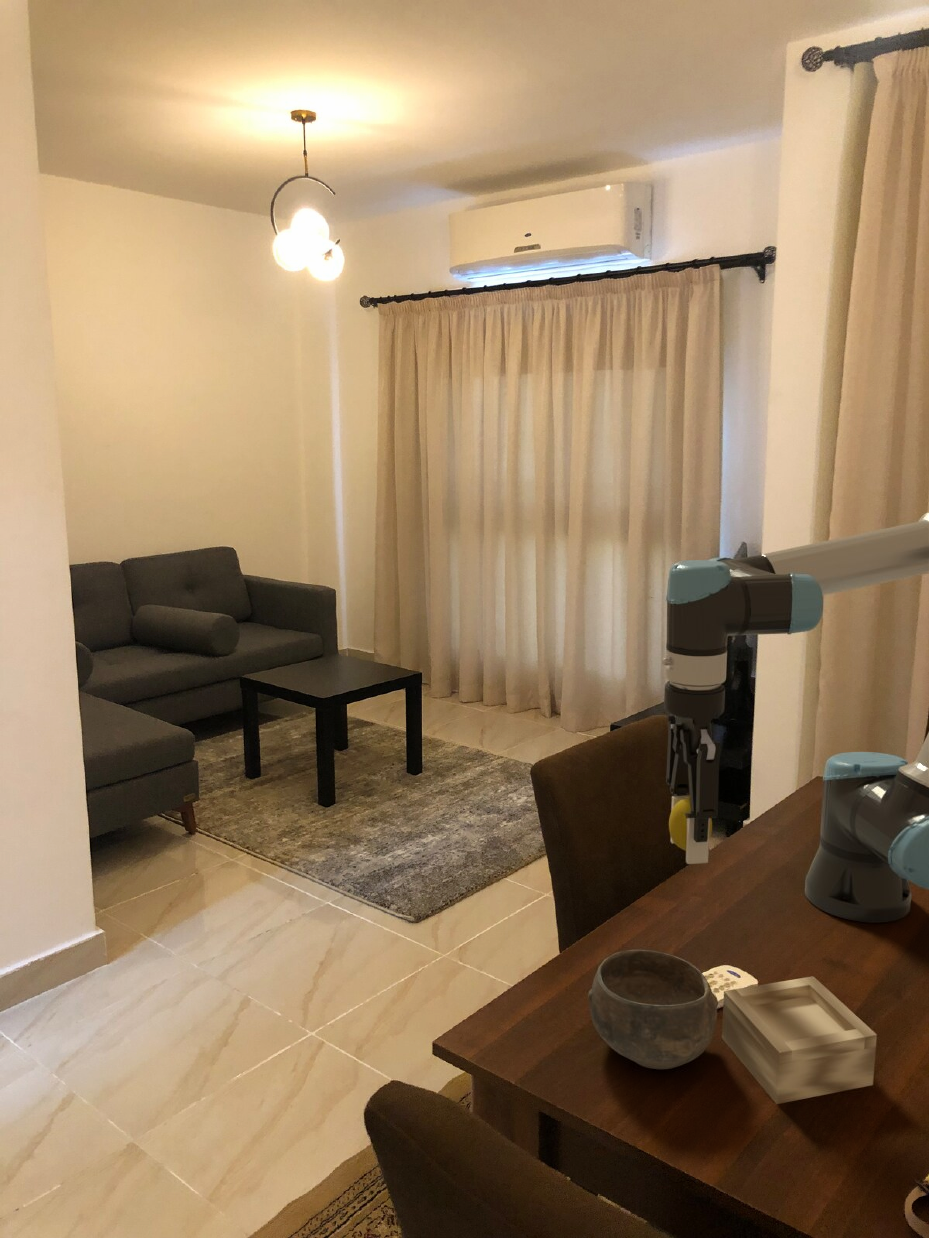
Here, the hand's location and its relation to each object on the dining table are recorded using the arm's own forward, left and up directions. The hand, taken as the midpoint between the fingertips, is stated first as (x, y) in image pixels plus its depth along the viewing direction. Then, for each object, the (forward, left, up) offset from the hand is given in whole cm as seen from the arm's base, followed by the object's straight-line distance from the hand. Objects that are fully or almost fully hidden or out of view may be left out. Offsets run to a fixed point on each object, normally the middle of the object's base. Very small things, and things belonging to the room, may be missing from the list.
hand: (688, 851), depth 129 cm
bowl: (+11, +17, -17) cm, 26 cm away
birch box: (-6, +21, -17) cm, 28 cm away
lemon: (0, 0, -1) cm, 1 cm away
